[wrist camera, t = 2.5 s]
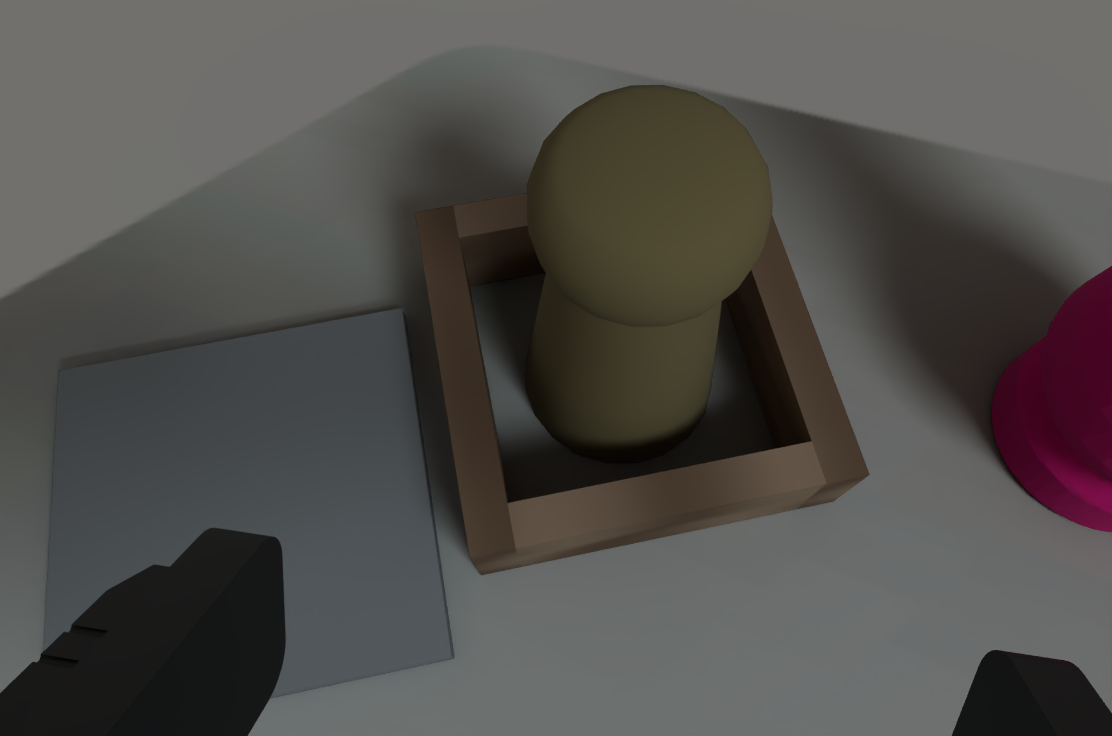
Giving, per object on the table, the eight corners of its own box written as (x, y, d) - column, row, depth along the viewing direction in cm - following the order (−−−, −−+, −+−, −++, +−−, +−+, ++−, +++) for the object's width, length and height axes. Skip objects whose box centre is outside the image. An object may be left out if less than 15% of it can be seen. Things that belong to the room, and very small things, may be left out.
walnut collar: (481, 575, 23) (469, 557, 20) (430, 262, 27) (415, 212, 24) (833, 501, 23) (869, 474, 21) (730, 208, 28) (749, 154, 25)
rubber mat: (52, 745, 21) (38, 747, 20) (69, 377, 25) (58, 370, 25) (454, 658, 22) (451, 657, 21) (405, 316, 26) (402, 307, 25)
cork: (493, 338, 26) (450, 103, 16) (651, 265, 27) (705, -1, 17) (580, 497, 24) (594, 344, 13) (747, 411, 25) (877, 207, 15)
